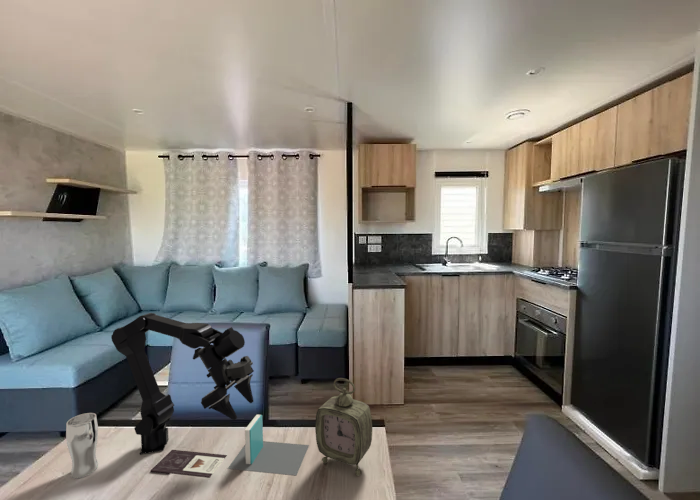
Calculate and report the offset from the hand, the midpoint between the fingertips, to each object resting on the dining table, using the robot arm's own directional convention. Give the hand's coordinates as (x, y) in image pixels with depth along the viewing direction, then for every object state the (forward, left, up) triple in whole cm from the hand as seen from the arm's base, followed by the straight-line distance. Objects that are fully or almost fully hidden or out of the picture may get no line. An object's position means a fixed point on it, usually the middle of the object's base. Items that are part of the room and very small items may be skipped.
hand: (244, 410), depth 97 cm
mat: (+7, -1, -15) cm, 16 cm away
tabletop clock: (+28, -10, -15) cm, 33 cm away
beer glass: (-43, +9, -15) cm, 47 cm away
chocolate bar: (-15, +3, -16) cm, 22 cm away
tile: (+3, +1, -15) cm, 15 cm away
